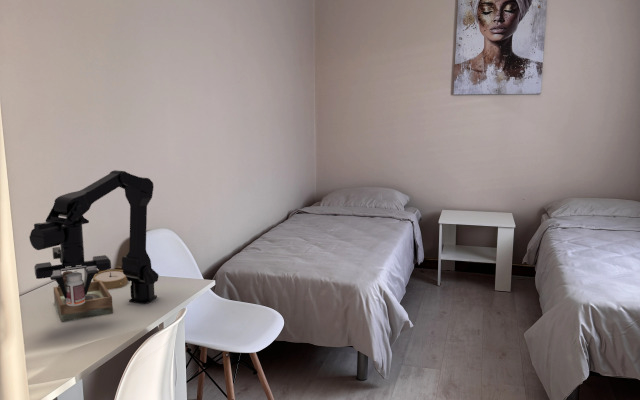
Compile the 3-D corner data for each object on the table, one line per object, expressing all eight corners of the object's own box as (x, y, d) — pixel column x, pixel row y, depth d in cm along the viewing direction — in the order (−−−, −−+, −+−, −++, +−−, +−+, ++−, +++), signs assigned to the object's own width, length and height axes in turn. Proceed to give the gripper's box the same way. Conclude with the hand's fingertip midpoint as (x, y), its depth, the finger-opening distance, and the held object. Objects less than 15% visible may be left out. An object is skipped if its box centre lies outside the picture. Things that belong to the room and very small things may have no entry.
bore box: (101, 294, 175) (100, 280, 174) (112, 312, 160) (112, 296, 159) (54, 302, 168) (53, 287, 167) (61, 322, 153) (60, 305, 152)
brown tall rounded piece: (71, 284, 191) (70, 296, 177) (57, 279, 189) (55, 291, 175) (79, 270, 191) (79, 281, 178) (65, 264, 189) (64, 275, 176)
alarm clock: (92, 283, 178) (93, 263, 191) (93, 296, 180) (94, 276, 193) (127, 280, 182) (126, 261, 195) (128, 293, 184) (127, 273, 197)
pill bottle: (87, 299, 151) (85, 271, 150) (82, 305, 147) (80, 276, 145) (69, 300, 150) (67, 272, 149) (64, 306, 146) (62, 277, 144)
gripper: (102, 232, 157) (105, 282, 160) (30, 239, 147) (35, 293, 150) (110, 240, 148) (113, 293, 150) (34, 248, 138) (38, 305, 141)
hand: (75, 296), depth 148 cm, fingers closed on pill bottle, 5 cm apart
